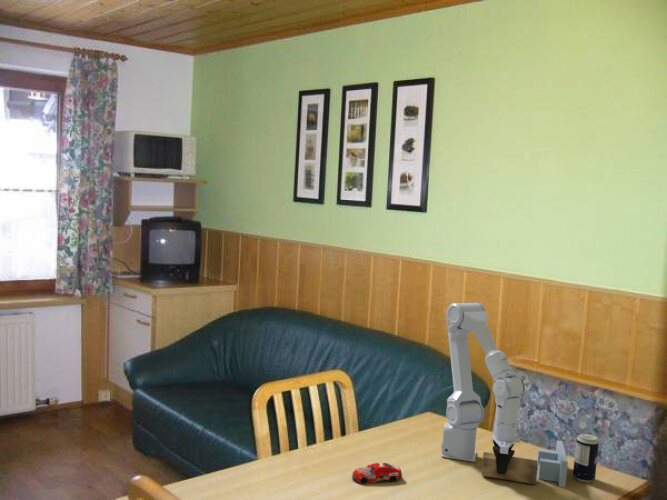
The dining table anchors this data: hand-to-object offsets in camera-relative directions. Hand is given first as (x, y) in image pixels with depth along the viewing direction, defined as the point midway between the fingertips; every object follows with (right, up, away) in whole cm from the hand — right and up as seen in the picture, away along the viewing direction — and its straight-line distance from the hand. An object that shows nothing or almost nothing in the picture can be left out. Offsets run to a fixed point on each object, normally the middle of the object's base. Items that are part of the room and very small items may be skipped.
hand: (501, 470), depth 187 cm
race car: (-34, -1, -6) cm, 34 cm away
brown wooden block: (+2, -2, 0) cm, 2 cm away
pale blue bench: (+15, -3, +5) cm, 16 cm away
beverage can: (+23, -4, +3) cm, 24 cm away
